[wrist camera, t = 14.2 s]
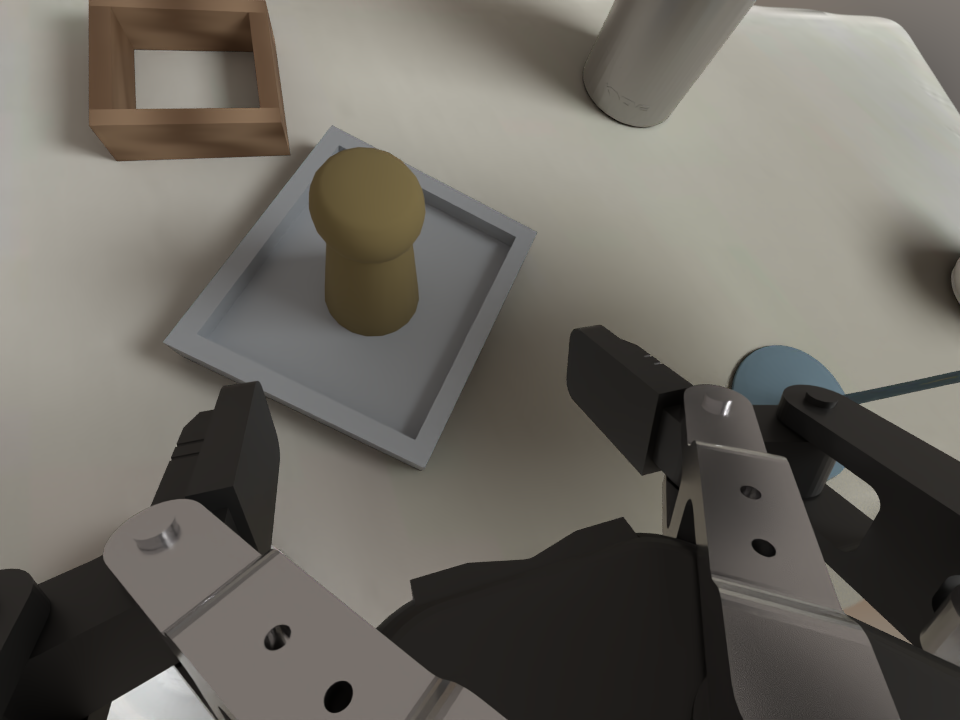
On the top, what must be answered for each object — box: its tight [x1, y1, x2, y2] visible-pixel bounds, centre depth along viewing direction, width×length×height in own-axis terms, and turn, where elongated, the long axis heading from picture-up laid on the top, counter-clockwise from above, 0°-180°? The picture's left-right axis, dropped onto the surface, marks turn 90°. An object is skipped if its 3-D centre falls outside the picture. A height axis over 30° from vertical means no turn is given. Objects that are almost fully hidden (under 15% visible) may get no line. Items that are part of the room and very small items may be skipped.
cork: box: [309, 147, 426, 336], centre depth 24 cm, size 6×6×11 cm
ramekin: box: [107, 545, 283, 720], centre depth 22 cm, size 9×9×4 cm
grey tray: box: [163, 125, 537, 471], centre depth 29 cm, size 18×16×2 cm
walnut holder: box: [89, 0, 290, 161], centre depth 31 cm, size 11×11×3 cm
